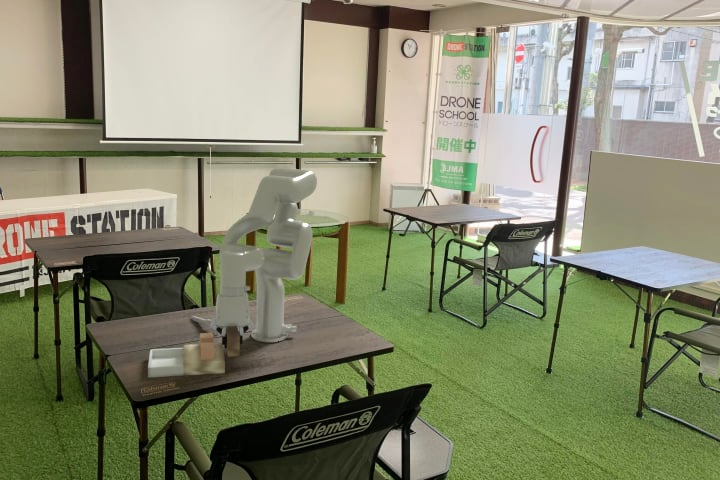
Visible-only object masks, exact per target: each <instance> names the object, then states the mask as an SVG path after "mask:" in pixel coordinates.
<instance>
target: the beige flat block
mask: <svg viewBox="0 0 720 480" xmlns="http://www.w3.org/2000/svg"><path fill="white" fill-rule="evenodd" d="M214 346H215V360H202V361H201V350H200V343H195V344H194V343H193V344H191V343H190V344H184V345H183V348H184V361H183V365H184V375H183V376H194V375H195V376H196V375H199V376H200V375H213V374H225V373H226V369H225V368H226V360H225V354H224V345H222V342H216V343H215V342H214Z"/></svg>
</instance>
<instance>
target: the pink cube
mask: <svg viewBox="0 0 720 480" xmlns="http://www.w3.org/2000/svg"><path fill="white" fill-rule="evenodd" d="M211 342H214V334H213V333H212V332H203V333H202V332H201V333H199V344H200V350H201V343H211Z"/></svg>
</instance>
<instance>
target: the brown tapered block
mask: <svg viewBox="0 0 720 480" xmlns="http://www.w3.org/2000/svg"><path fill="white" fill-rule="evenodd" d="M238 331H239V326H237V327H227V328H226V334H227V348H225V349H226V353H227V358H228V357H240V353H241V351H240V348H241V346H240V336H239V332H238Z"/></svg>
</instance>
